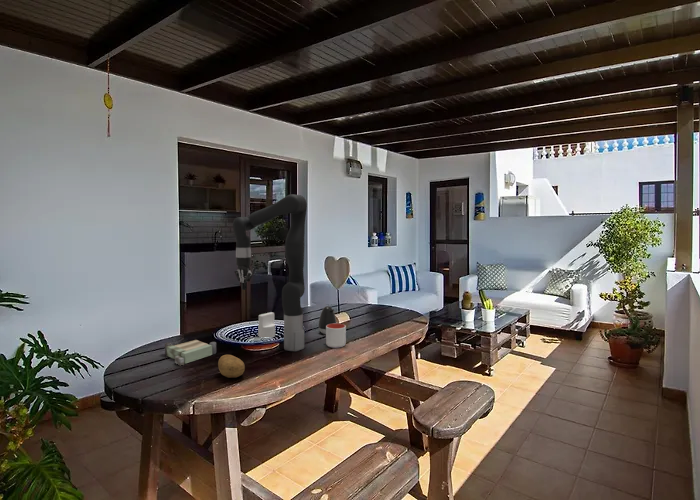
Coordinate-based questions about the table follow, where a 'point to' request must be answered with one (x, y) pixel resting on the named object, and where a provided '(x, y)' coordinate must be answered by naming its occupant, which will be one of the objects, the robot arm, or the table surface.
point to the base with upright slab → (266, 325)
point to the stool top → (181, 350)
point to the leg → (199, 352)
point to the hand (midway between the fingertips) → (244, 289)
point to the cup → (335, 335)
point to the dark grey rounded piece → (326, 318)
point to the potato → (231, 366)
